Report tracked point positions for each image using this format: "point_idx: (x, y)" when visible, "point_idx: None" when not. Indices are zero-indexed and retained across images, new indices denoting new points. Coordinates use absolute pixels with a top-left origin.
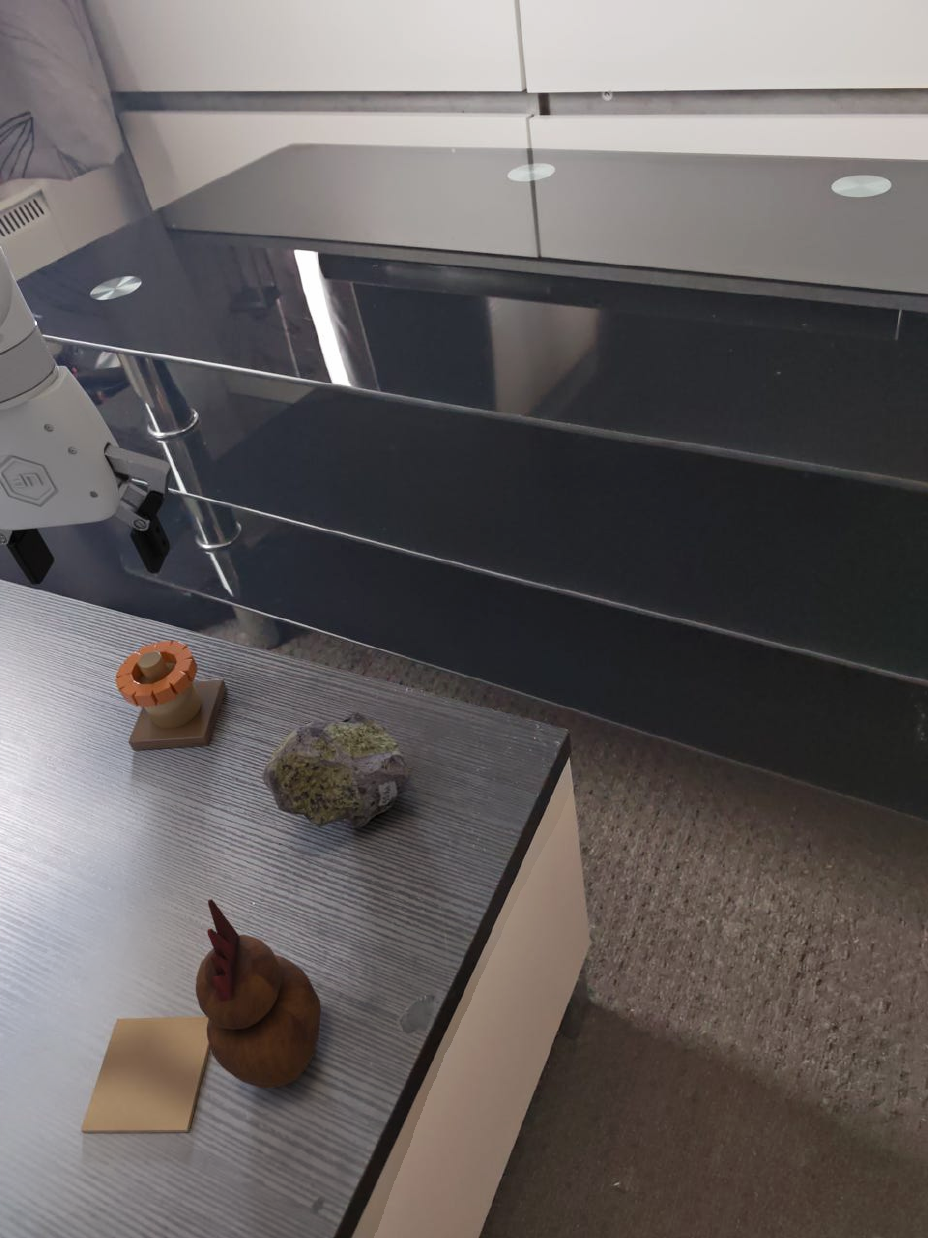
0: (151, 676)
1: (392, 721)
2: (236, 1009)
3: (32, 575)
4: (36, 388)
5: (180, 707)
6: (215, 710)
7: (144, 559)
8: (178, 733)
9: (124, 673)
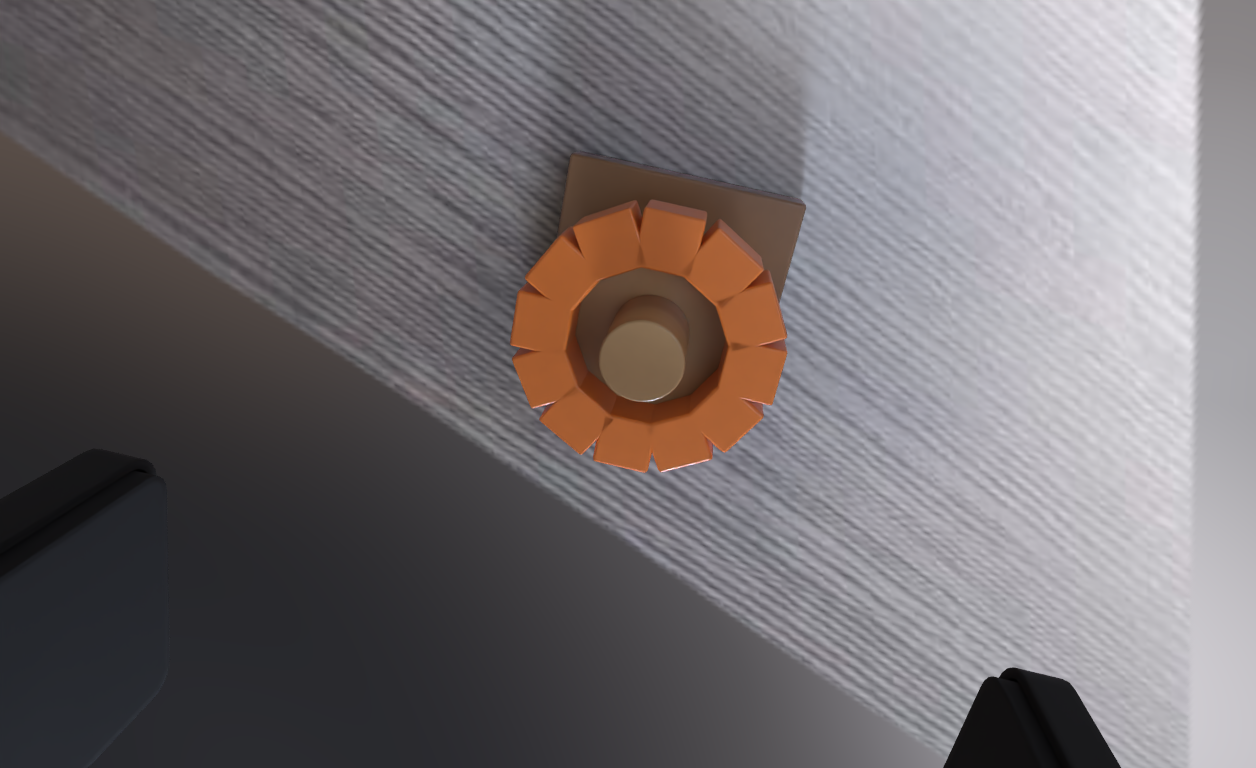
0: (652, 309)
1: (73, 86)
2: None
3: (1048, 730)
4: None
5: None
6: None
7: (32, 521)
8: (649, 193)
9: (752, 353)
